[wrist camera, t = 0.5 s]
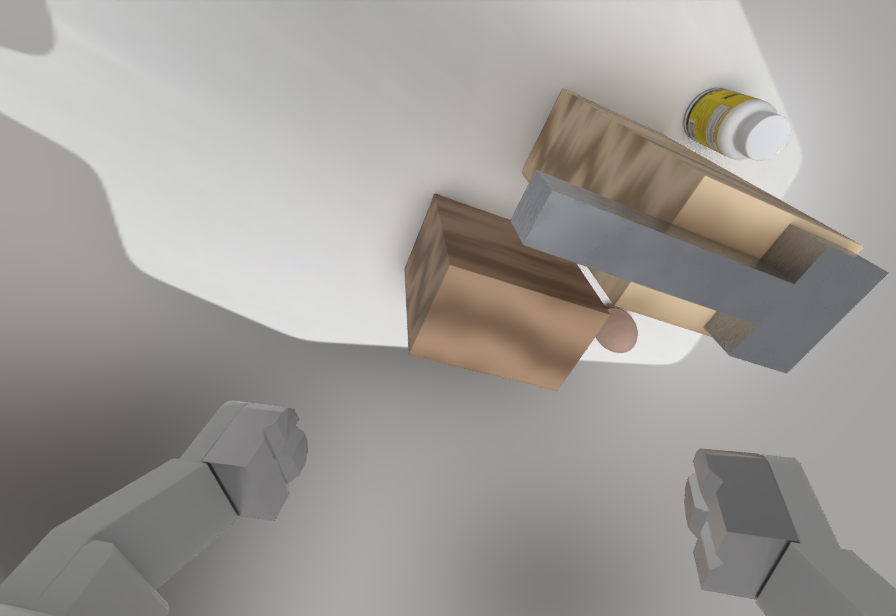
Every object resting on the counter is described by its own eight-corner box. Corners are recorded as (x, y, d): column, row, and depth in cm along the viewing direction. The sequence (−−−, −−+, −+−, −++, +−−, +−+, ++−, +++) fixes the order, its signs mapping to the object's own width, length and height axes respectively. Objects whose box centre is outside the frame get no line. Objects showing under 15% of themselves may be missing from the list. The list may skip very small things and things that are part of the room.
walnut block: (434, 193, 52) (450, 264, 39) (559, 238, 57) (610, 314, 43) (404, 269, 57) (408, 354, 44) (521, 304, 62) (557, 391, 48)
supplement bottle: (744, 97, 50) (813, 119, 41) (712, 147, 52) (770, 177, 44) (703, 78, 48) (766, 97, 40) (672, 131, 51) (725, 159, 43)
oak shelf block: (562, 88, 47) (705, 175, 26) (665, 136, 51) (864, 246, 30) (521, 172, 52) (614, 305, 30) (619, 210, 55) (762, 353, 34)
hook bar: (491, 258, 27) (501, 285, 25) (559, 122, 23) (579, 139, 21) (757, 344, 34) (786, 373, 31) (846, 248, 30) (888, 272, 27)
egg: (632, 312, 64) (655, 343, 59) (603, 336, 66) (622, 369, 61) (608, 293, 62) (630, 323, 56) (579, 318, 64) (597, 351, 58)
